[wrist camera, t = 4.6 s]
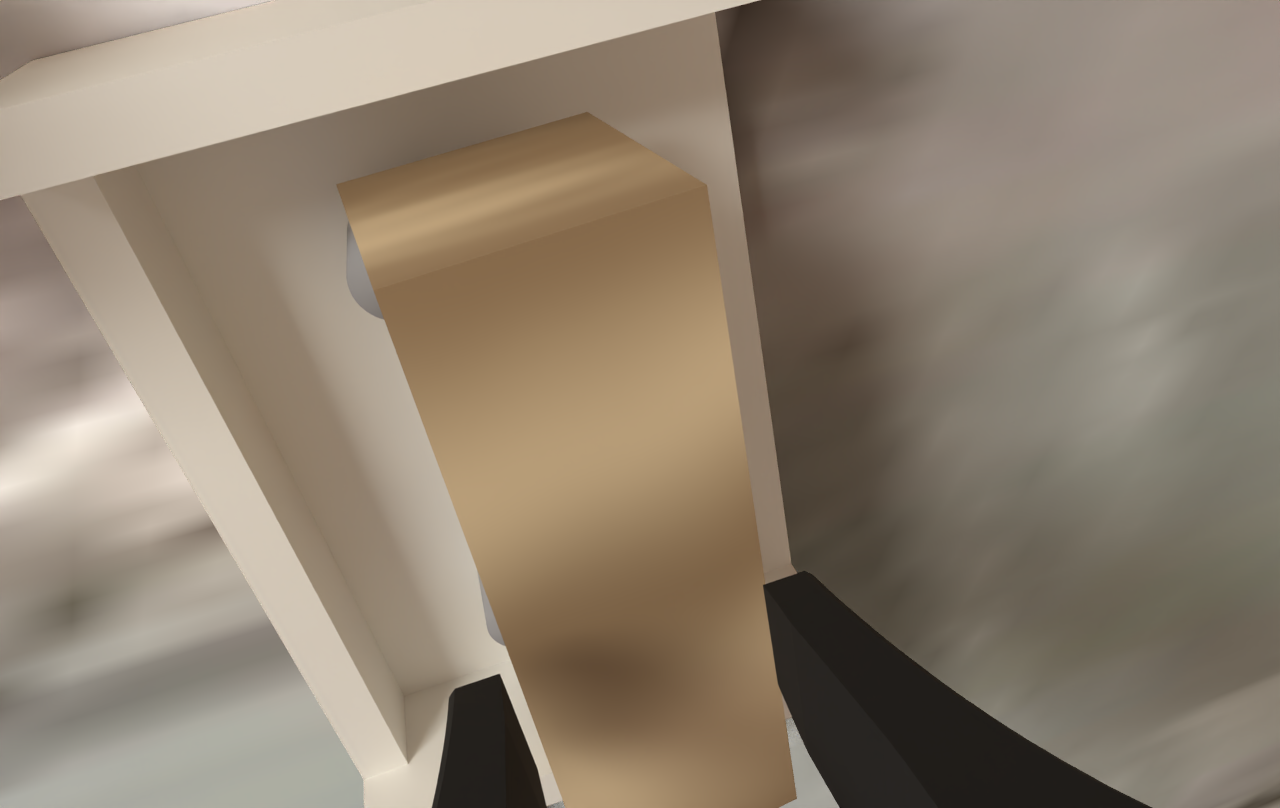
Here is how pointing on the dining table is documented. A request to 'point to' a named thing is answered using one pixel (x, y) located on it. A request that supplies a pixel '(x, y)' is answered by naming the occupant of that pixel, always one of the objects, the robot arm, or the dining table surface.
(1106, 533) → the dining table surface
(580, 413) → the wooden block
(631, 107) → the peg frame
